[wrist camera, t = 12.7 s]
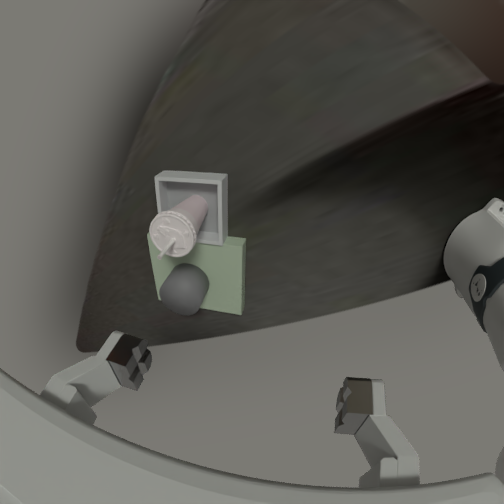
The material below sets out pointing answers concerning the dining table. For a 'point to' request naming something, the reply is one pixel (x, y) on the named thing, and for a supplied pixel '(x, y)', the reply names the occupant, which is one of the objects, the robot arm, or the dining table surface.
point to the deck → (200, 249)
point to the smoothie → (178, 227)
